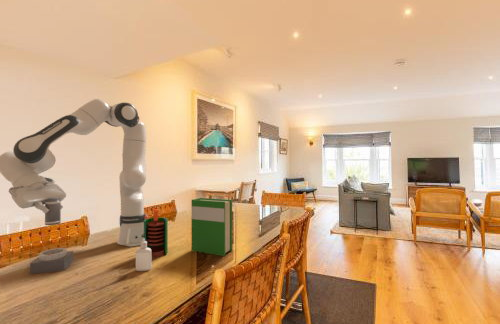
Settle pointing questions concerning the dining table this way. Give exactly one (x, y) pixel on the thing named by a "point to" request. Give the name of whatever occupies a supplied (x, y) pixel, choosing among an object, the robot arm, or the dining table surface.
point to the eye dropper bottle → (143, 257)
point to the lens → (53, 211)
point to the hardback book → (212, 225)
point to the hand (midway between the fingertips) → (54, 210)
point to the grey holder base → (52, 261)
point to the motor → (156, 234)
